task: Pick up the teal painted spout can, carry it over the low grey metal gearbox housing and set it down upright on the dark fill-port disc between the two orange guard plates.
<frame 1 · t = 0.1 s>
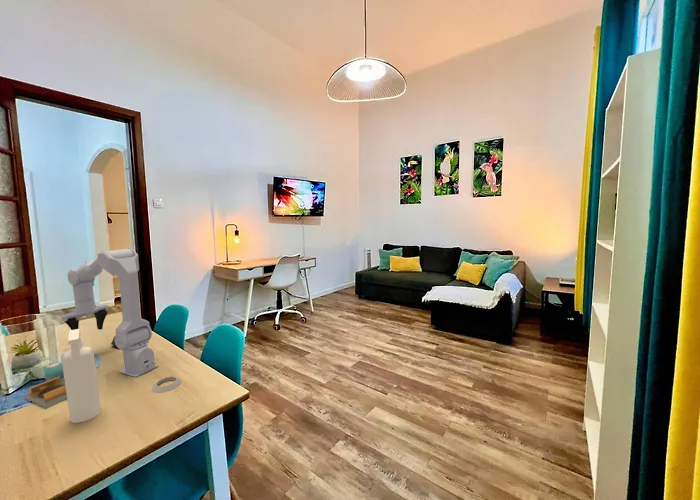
hand: (88, 332, 118), 10 cm above the table, fingers open, 7 cm apart
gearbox: (58, 393, 95), on the table
spout can: (55, 379, 103), on the table
white bottle: (86, 414, 85), on the table
stone: (122, 344, 132), on the table
ring: (167, 387, 98), on the table
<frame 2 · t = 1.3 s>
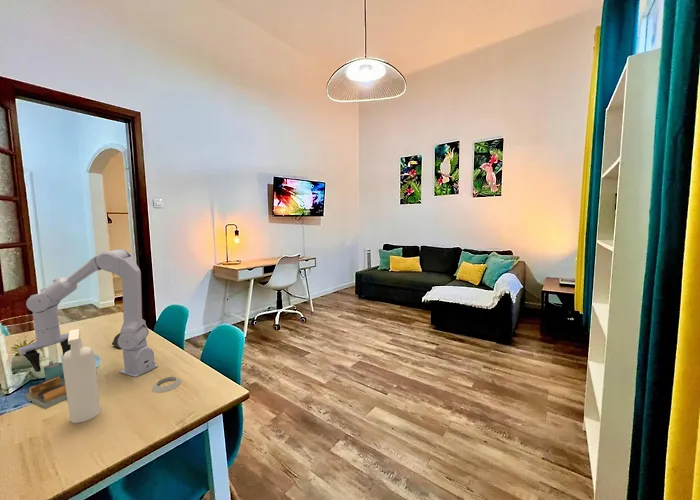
hand: (52, 365, 102), 5 cm above the table, fingers open, 7 cm apart
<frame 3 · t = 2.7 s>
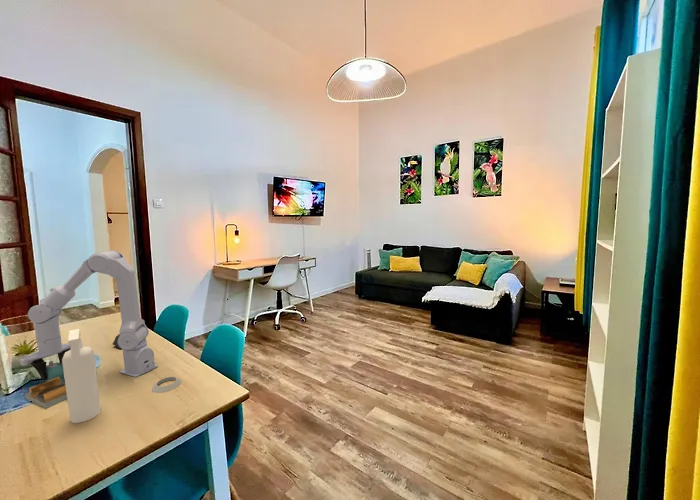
hand: (54, 375, 103), 1 cm above the table, fingers closed on spout can, 4 cm apart
spout can: (55, 379, 103), on the table, touching gripper
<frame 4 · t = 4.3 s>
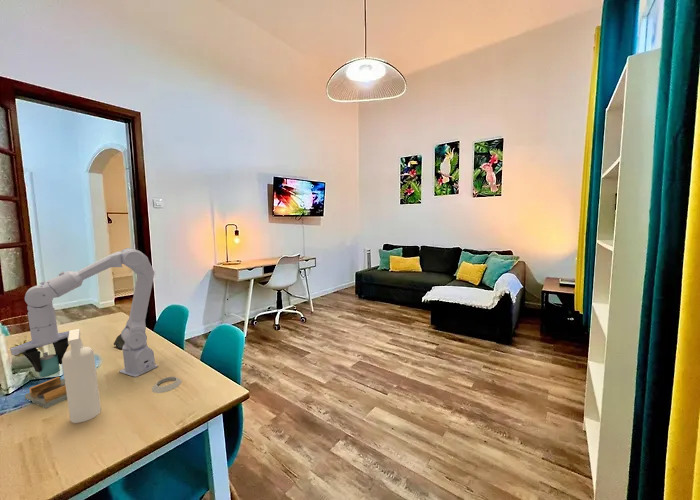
hand: (49, 367, 92), 9 cm above the table, fingers closed on spout can, 4 cm apart
spout can: (49, 373, 93), point 7 cm above the table, touching gripper
when the fingers open (4 cm above the table, at t = 6.2 s): spout can stays where it is, resting on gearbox.
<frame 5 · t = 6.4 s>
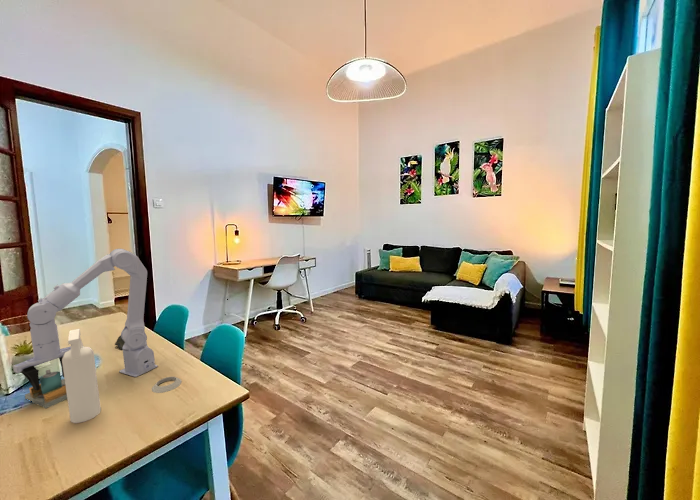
hand: (51, 383, 93), 4 cm above the table, fingers open, 6 cm apart
spout can: (52, 390, 93), point 2 cm above the table, touching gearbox
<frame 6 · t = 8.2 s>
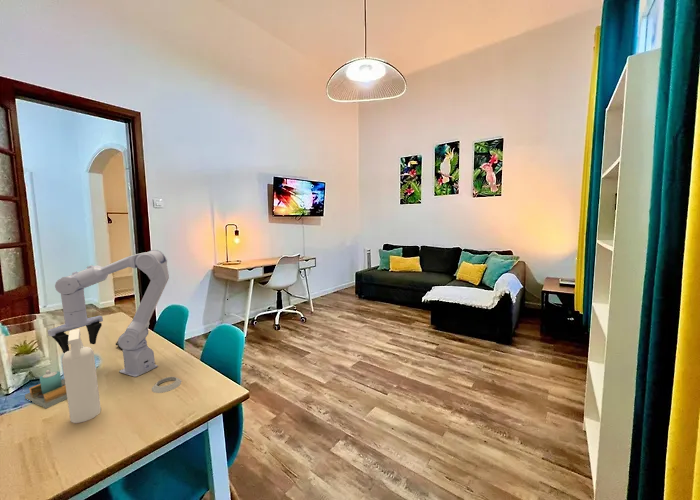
hand: (80, 348, 103), 10 cm above the table, fingers open, 7 cm apart
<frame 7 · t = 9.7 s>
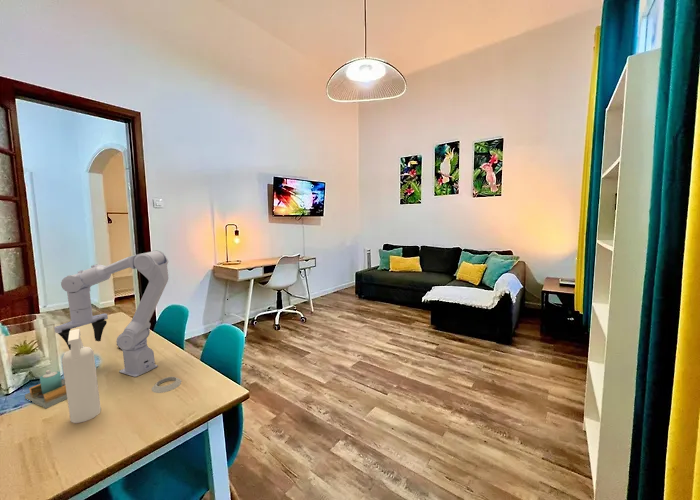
hand: (85, 345, 106), 10 cm above the table, fingers open, 7 cm apart
at the end: spout can 0.4 cm from the target spot on the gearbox, point 1.7 cm above the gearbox's base; spout can tilted 0°; the gripper is holding nothing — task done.
